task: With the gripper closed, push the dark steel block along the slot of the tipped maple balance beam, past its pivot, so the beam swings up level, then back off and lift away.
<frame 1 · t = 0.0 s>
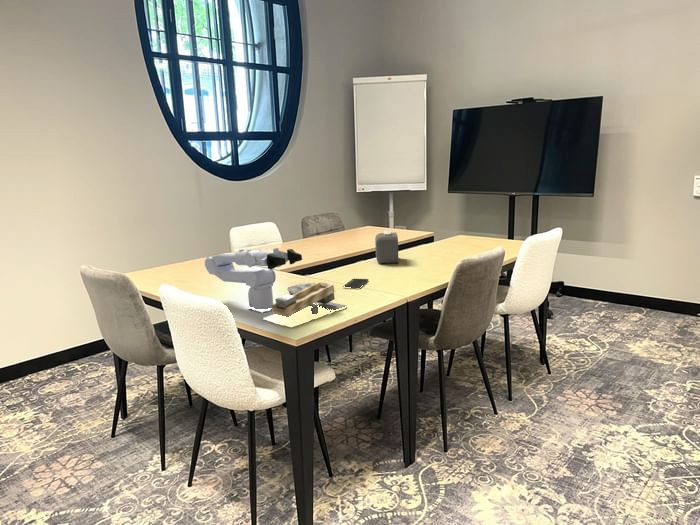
hand: (293, 259, 185), 22 cm above the table, tool horizontal, fingers open, 7 cm apart
alarm clock: (387, 261, 279), on the table
balance beam: (304, 302, 193), point 4 cm above the table, hinge at -8.3°, touching steel block
steel block: (287, 308, 187), point 4 cm above the table, tilted 8°, touching balance beam
brain slice: (308, 295, 222), on the table
phone: (356, 285, 234), on the table
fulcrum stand: (305, 313, 194), on the table
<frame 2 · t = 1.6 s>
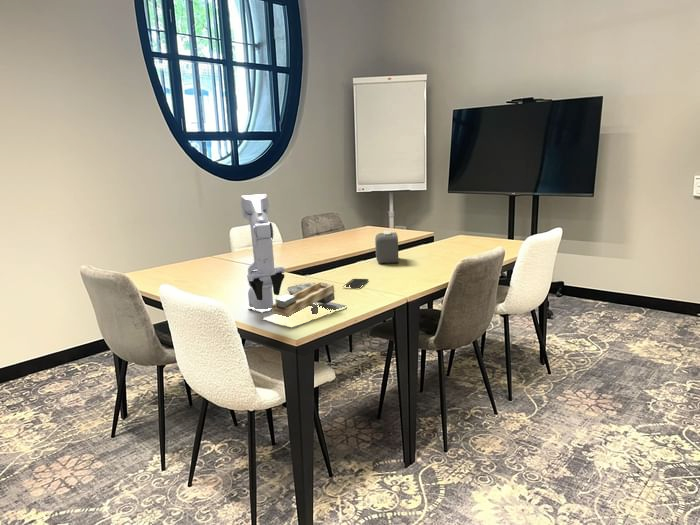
hand: (268, 297, 180), 10 cm above the table, tool pointing down, fingers open, 7 cm apart
nothing on the table moved.
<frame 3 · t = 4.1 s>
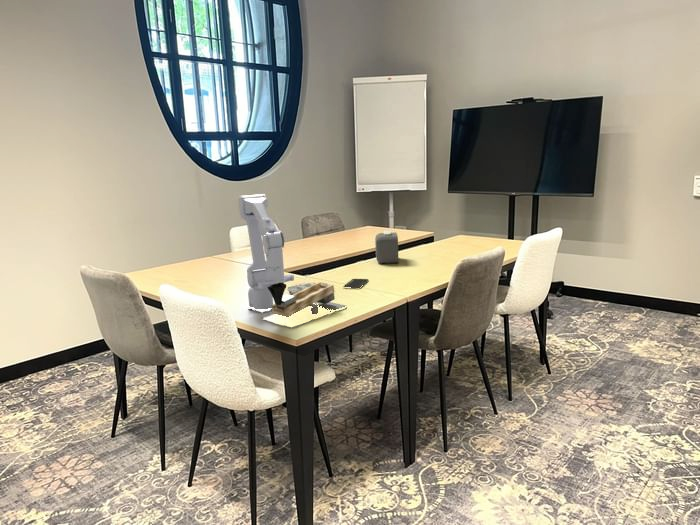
hand: (278, 304, 184), 7 cm above the table, tool pointing down, fingers closed
steel block: (287, 308, 187), point 4 cm above the table, tilted 8°, touching balance beam, gripper
everything else where it was.
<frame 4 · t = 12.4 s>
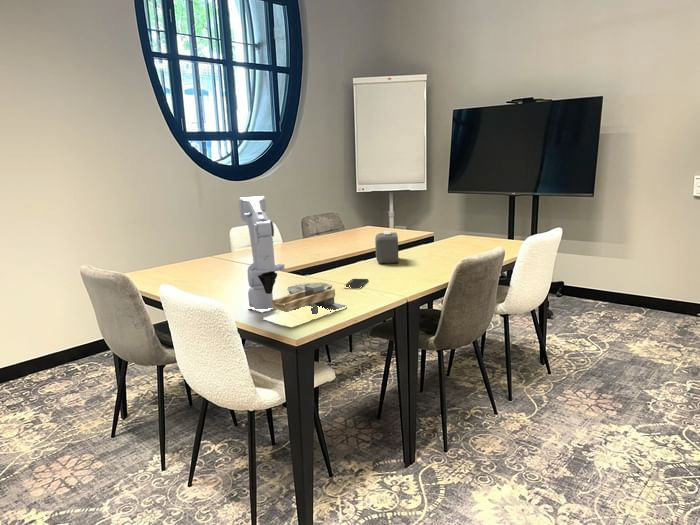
hand: (268, 293, 185), 10 cm above the table, tool pointing down, fingers closed
balance beam: (304, 302, 193), point 4 cm above the table, hinge at 0.3°, touching steel block
steel block: (314, 295, 197), point 6 cm above the table, touching balance beam
everything else where it was.
at the end: balance beam at +0° (first picture: -8°); steel block 0.8 cm from the target spot on the balance beam, point 1.2 cm above the balance beam's base; steel block tilted 0° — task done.
